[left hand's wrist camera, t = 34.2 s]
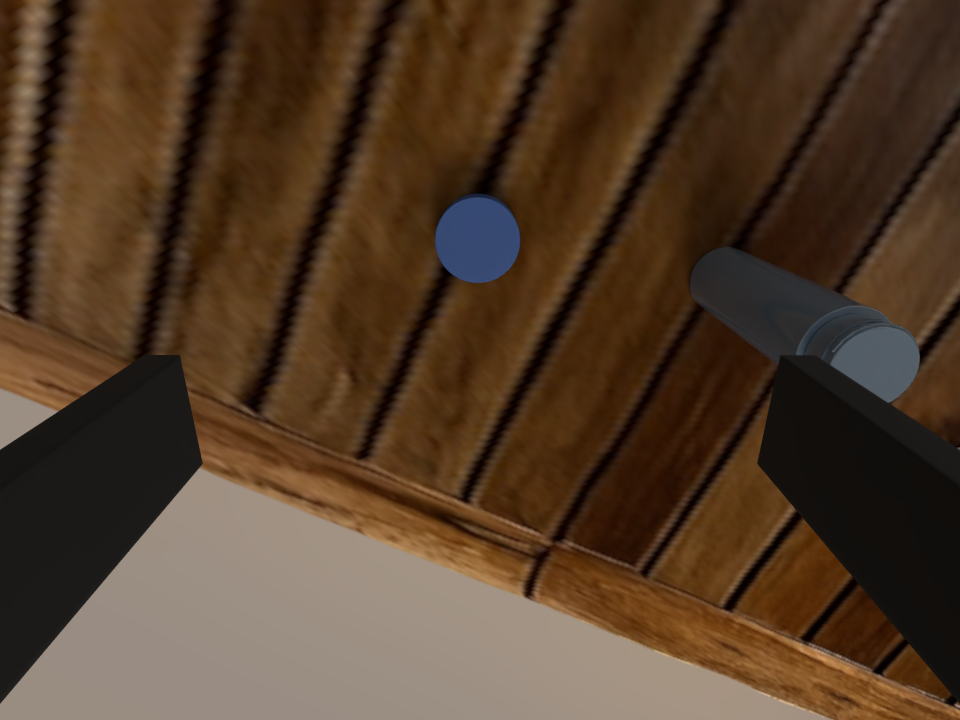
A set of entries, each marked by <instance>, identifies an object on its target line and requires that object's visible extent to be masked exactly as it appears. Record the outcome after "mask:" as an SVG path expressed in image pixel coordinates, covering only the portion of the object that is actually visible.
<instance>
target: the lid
mask: <svg viewBox="0 0 960 720" xmlns="http://www.w3.org/2000/svg"><path fill="white" fill-rule="evenodd" d="M435 245H436V250H437V254H438V256H439V259H440V261H441V262H442V264H443V265H444V267H445V268H446V269H447V270H448V271H449V272H450V273H451V274H453V275H454V276H456V277H457V278H459V279H462V280H464V281H468V282H473V283H481V282H488V281H491V280H494V279H496V278H498V277H500V276H501V275H503V274H504V273H505V272H506V271H507V270H508V269H509V268H510V267H511V266H512V264H513V263H514V261H515V259H516V257H517V255H518V252H519V247H520V233H519V228H518V225H517V223H516V220H515V218H514V216H513V214H512V212H511V211H510V209H509V208H508V207H507V206H506V205H505V204H504V203H503V202H501V201H500V200H498V199H497V198H494V197H492V196H489V195H485V194H470V195H466V196H463V197H461V198H459V199H457V200H456V201H454V202H453V203H452V204H451V205H449V206H448V208H447V209H446V210H445V211H444V213H443V215H442V217H441V219H440V221H439V223H438V226H437V229H436V235H435Z"/></svg>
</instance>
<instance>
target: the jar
mask: <svg viewBox="0 0 960 720" xmlns="http://www.w3.org/2000/svg"><path fill="white" fill-rule="evenodd" d="M690 291H691V294H692V296H693V298H694V300H695V301H696V302H697V303H698V304H699V305H700V306H701V307H703V308H704V309H705V310H707V311H708V312H709V313H711V314H712V315H713V316H714V317H716V318H717V319H718V320H720V321H721V322H722V323H723V324H725V325H726V326H727V327H729V328H730V329H731V330H732V331H734V332H735V333H736V334H738V335H739V336H740V337H742V338H743V339H744V340H745V341H747V342H748V343H749V344H751V345H752V346H753V347H754V348H756V349H757V350H758V351H760V352H761V353H762V354H764V355H765V356H766V357H767V358H769V359H770V360H771V361H773V362H774V363H775V364H776V365H778V364H779V359H780V355H816V356H817V357H819V358H820V359H822V360H824V361H825V362H827V363H828V364H830V365H831V366H833V367H834V368H836V369H837V370H839V371H840V372H842V373H843V374H845V375H846V376H848V377H849V378H851V379H853V380H854V381H856V382H857V383H859V384H860V385H862V386H863V387H865V388H866V389H868V390H869V391H871V392H872V393H874V394H875V395H877V396H878V397H880V398H881V399H883V400H885V401H886V402H888V403H889V402H891V401H892V400H894V399H896V398H897V397H898V396H899V395H901V394H902V393H903V392H904V391H905V390H906V389H907V388H908V387H909V385H910V384H911V383H912V381H913V379H914V378H915V376H916V373H917V371H918V367H919V361H920V355H919V349H918V346H917V343H916V340H915V338H914V337H913V336H912V335H911V333H910V332H909V331H907V330H906V329H904V328H903V327H901V326H900V325H896V324H893V323H891V322H890V321H889V319H888V318H887V317H886V316H885V315H884V314H883V313H881V312H880V311H878V310H876V309H874V308H872V307H869V306H867V305H865V304H863V303H860V302H858V301H856V300H853V299H851V298H849V297H847V296H844V295H842V294H840V293H838V292H835V291H833V290H831V289H828V288H826V287H824V286H822V285H819V284H817V283H815V282H813V281H810V280H808V279H806V278H803V277H801V276H799V275H797V274H794V273H792V272H790V271H788V270H785V269H783V268H781V267H778V266H776V265H774V264H772V263H769V262H767V261H765V260H763V259H760V258H758V257H756V256H753V255H751V254H749V253H747V252H744V251H742V250H740V249H737V248H733V247H722V248H718V249H715V250H712V251H710V252H709V253H707V254H706V255H704V256H703V257H702V258H701V259H700V260H699V261H698V262H697V264H696V265H695V267H694V268H693V270H692V273H691V277H690Z"/></svg>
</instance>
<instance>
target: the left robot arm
mask: <svg viewBox="0 0 960 720" xmlns="http://www.w3.org/2000/svg"><path fill="white" fill-rule="evenodd" d="M202 464H203V463H202V458H201V453H200V449H199V444H198V439H197V435H196V430H195V425H194V420H193V416H192V411H191V406H190V402H189V397H188V392H187V388H186V383H185V378H184V373H183V369H182V364H181V359H180V355H144V356H143V357H141V358H140V359H138V360H136V361H135V362H133V363H132V364H130V365H129V366H127V367H126V368H124V369H123V370H121V371H120V372H118V373H117V374H115V375H114V376H112V377H111V378H109V379H107V380H106V381H104V382H103V383H101V384H100V385H98V386H97V387H95V388H94V389H92V390H91V391H89V392H88V393H86V394H85V395H83V396H82V397H80V398H79V399H77V400H75V401H74V402H72V403H71V404H69V405H68V406H66V407H65V408H63V409H62V410H60V411H59V412H57V413H56V414H54V415H53V416H51V417H50V418H48V419H46V420H45V421H43V422H42V423H40V424H39V425H37V426H36V427H34V428H33V429H31V430H30V431H28V432H27V433H25V434H24V435H22V436H21V437H19V438H17V439H16V440H14V441H13V442H11V443H10V444H8V445H7V446H5V447H4V448H2V449H1V450H0V703H1V702H2V701H3V700H4V698H5V697H6V696H7V695H8V694H9V693H10V691H11V690H12V689H13V688H14V687H15V685H16V684H17V683H18V682H19V681H20V680H21V678H22V677H23V676H24V675H25V674H26V672H27V671H28V670H29V669H30V668H31V667H32V665H33V664H34V663H35V662H36V661H37V659H38V658H39V657H40V656H41V655H42V653H43V652H44V651H45V650H46V649H47V648H48V646H49V645H50V644H51V643H52V642H53V640H54V639H55V638H56V637H57V636H58V634H59V633H60V632H61V631H62V630H63V629H64V627H65V626H66V625H67V624H68V623H69V621H70V620H71V619H72V618H73V617H74V616H75V614H76V613H77V612H78V611H79V610H80V608H81V607H82V606H83V605H84V604H85V603H86V601H87V600H88V599H89V598H90V597H91V595H92V594H93V593H94V592H95V591H96V590H97V588H98V587H99V586H100V585H101V584H102V582H103V581H104V580H105V579H106V578H107V576H108V575H109V574H110V573H111V572H112V571H113V569H114V568H115V567H116V566H117V565H118V563H119V562H120V561H121V560H122V559H123V558H124V556H125V555H126V554H127V553H128V552H129V550H130V549H131V548H132V547H133V546H134V544H135V543H136V542H137V541H138V540H139V539H140V537H141V536H142V535H143V534H144V533H145V531H146V530H147V529H148V528H149V527H150V525H151V524H152V523H153V522H154V521H155V520H156V518H157V517H158V516H159V515H160V514H161V513H162V511H163V510H164V509H165V508H166V507H167V505H168V504H169V503H170V502H171V501H172V499H173V498H174V497H175V496H176V495H177V494H178V492H179V491H180V490H181V489H182V488H183V486H184V485H185V484H186V483H187V482H188V481H189V479H190V478H191V477H192V476H193V475H194V473H195V472H196V471H197V470H198V469H199V468H200V466H201V465H202ZM757 464H758V465H759V466H760V468H761V469H762V470H763V471H764V472H765V473H766V475H767V476H768V477H769V478H770V479H771V481H772V482H773V483H774V484H775V485H776V486H777V488H778V489H779V490H780V491H781V492H782V494H783V495H784V496H785V497H786V498H787V500H788V501H789V502H790V503H791V504H792V505H793V507H794V508H795V509H796V510H797V511H798V513H799V514H800V515H801V516H802V517H803V518H804V520H805V521H806V522H807V523H808V524H809V526H810V527H811V528H812V529H813V530H814V531H815V533H816V534H817V535H818V536H819V537H820V539H821V540H822V541H823V542H824V543H825V545H826V546H827V547H828V548H829V549H830V550H831V552H832V553H833V554H834V555H835V556H836V558H837V559H838V560H839V561H840V562H841V563H842V565H843V566H844V567H845V568H846V569H847V571H848V572H849V573H850V574H851V575H852V576H853V578H854V579H855V580H856V581H857V582H858V584H859V585H860V586H861V587H862V588H863V590H864V591H865V592H866V593H867V594H868V595H869V597H870V598H871V599H872V600H873V601H874V603H875V604H876V605H877V606H878V607H879V608H880V610H881V611H882V612H883V613H884V614H885V616H886V617H887V618H888V619H889V620H890V622H891V623H892V624H893V625H894V626H895V627H896V629H897V630H898V631H899V632H900V633H901V635H902V636H903V637H904V638H905V639H906V640H907V642H908V643H909V644H910V645H911V646H912V648H913V649H914V650H915V651H916V652H917V653H918V655H919V656H920V657H921V658H922V659H923V661H924V662H925V663H926V664H927V665H928V667H929V668H930V669H931V670H932V671H933V672H934V674H935V675H936V676H937V677H938V678H939V680H940V681H941V682H942V683H943V684H944V685H945V687H946V688H947V689H948V690H949V691H950V693H951V694H952V695H953V696H954V697H955V698H956V700H957V701H958V702H959V703H960V450H959V449H958V448H956V447H955V446H953V445H952V444H950V443H949V442H947V441H946V440H944V439H942V438H941V437H939V436H938V435H936V434H935V433H933V432H932V431H930V430H929V429H927V428H926V427H924V426H923V425H921V424H920V423H918V422H917V421H915V420H914V419H912V418H910V417H909V416H907V415H906V414H904V413H903V412H901V411H900V410H898V409H897V408H895V407H894V406H892V405H891V404H889V403H888V402H886V401H885V400H883V399H881V398H880V397H878V396H877V395H875V394H874V393H872V392H871V391H869V390H868V389H866V388H865V387H863V386H862V385H860V384H859V383H857V382H856V381H854V380H853V379H851V378H849V377H848V376H846V375H845V374H843V373H842V372H840V371H839V370H837V369H836V368H834V367H833V366H831V365H830V364H828V363H827V362H825V361H824V360H822V359H820V358H819V357H817V356H816V355H780V359H779V364H778V369H777V373H776V378H775V383H774V387H773V392H772V397H771V402H770V406H769V411H768V416H767V420H766V425H765V430H764V435H763V439H762V444H761V449H760V453H759V458H758V463H757Z"/></svg>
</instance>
